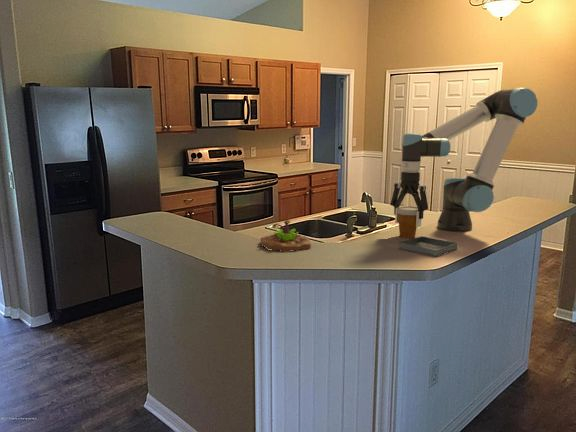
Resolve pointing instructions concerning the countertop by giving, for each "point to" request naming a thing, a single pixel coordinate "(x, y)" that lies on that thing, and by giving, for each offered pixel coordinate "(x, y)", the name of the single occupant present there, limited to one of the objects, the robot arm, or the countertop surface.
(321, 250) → the countertop surface
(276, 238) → the plant
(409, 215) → the disposable coffee cup
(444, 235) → the countertop surface
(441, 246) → the grey square tray
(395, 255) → the countertop surface
